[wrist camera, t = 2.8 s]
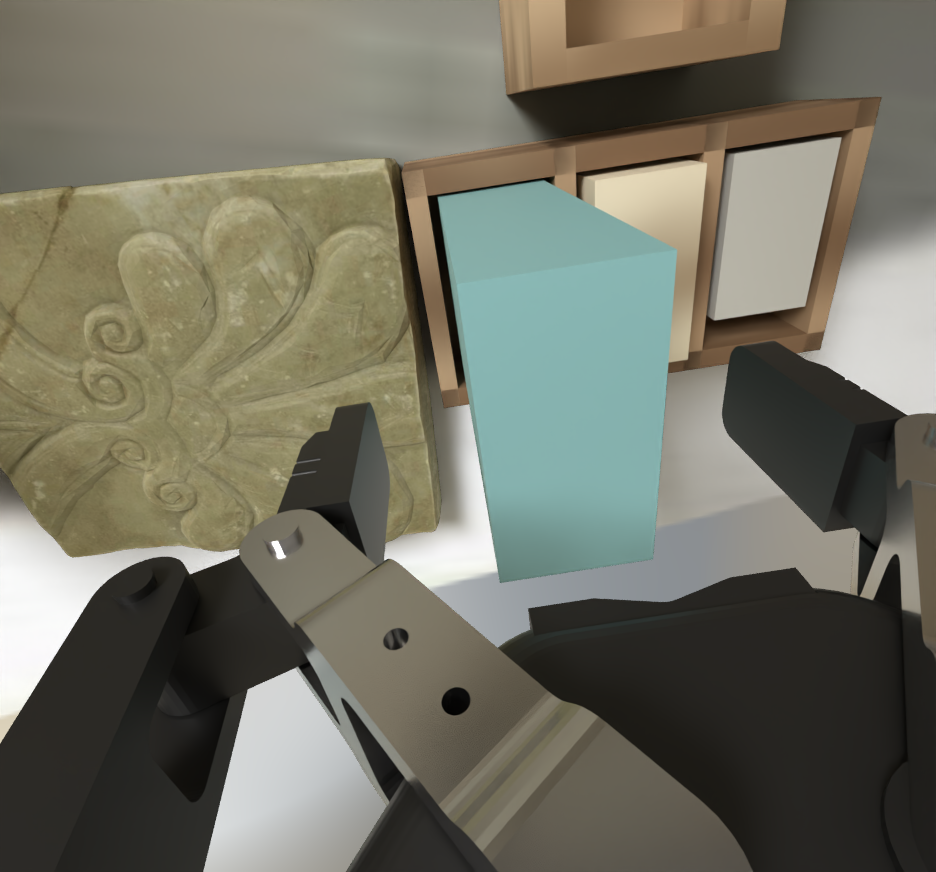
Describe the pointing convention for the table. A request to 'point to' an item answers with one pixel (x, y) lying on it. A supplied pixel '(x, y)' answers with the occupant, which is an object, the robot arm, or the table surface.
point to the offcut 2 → (769, 224)
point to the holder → (627, 37)
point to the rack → (702, 144)
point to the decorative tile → (205, 349)
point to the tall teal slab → (561, 372)
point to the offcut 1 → (658, 220)
